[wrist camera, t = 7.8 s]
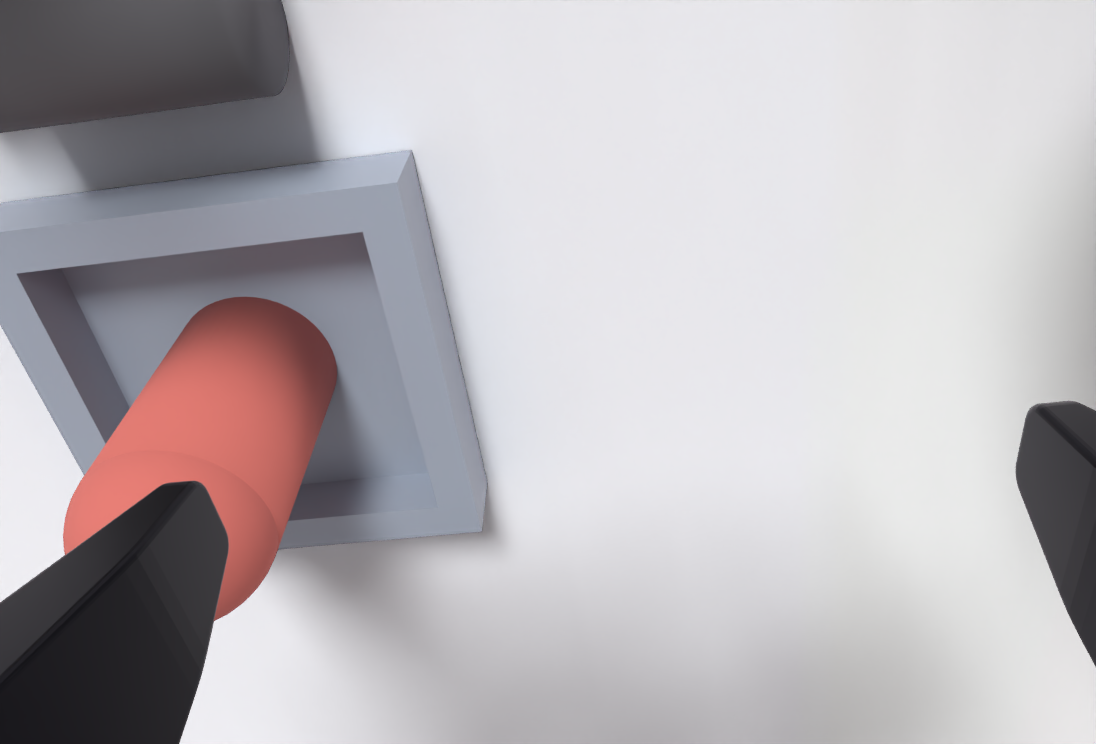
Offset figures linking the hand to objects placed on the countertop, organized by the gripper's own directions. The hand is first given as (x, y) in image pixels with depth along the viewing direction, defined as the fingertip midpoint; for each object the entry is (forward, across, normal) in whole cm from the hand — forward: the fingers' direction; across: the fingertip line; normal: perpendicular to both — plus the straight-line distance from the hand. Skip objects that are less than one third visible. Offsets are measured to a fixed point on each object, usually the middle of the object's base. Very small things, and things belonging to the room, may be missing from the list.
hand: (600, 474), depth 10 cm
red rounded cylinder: (+11, +9, +5) cm, 15 cm away
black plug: (+12, +9, -4) cm, 16 cm away
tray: (+12, +9, +5) cm, 16 cm away
